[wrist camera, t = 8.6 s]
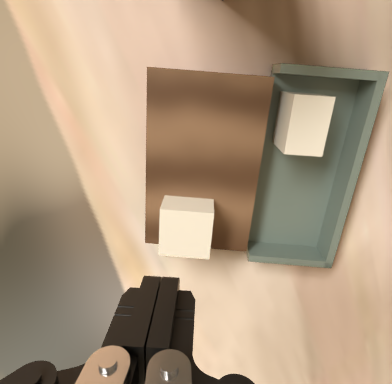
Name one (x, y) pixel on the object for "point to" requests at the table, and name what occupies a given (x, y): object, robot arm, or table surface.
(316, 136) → the tile
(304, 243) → the tray
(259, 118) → the walnut board
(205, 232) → the cream square block
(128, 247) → the table surface
